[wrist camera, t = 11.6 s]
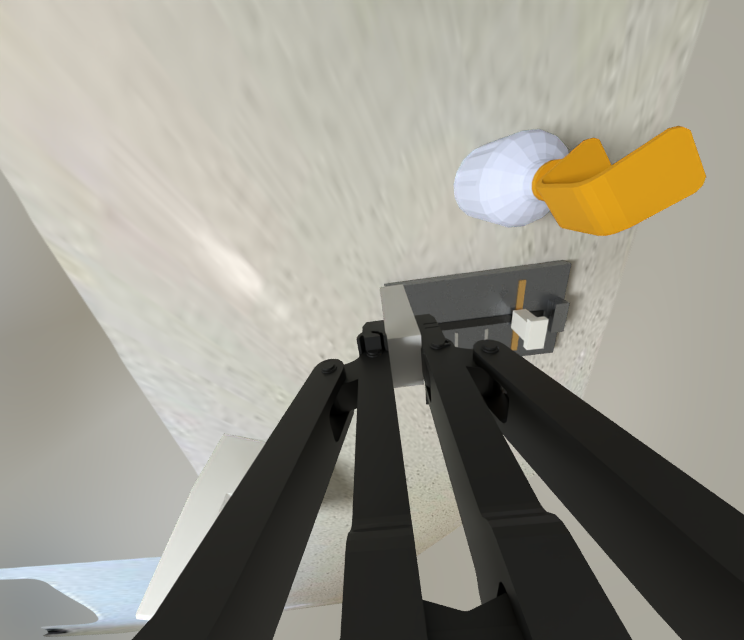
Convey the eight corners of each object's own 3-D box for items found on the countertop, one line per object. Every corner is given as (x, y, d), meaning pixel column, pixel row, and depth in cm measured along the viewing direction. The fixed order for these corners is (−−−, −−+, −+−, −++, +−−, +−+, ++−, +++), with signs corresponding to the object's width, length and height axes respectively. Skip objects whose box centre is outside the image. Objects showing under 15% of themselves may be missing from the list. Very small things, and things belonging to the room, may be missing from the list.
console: (384, 283, 43) (385, 292, 39) (562, 260, 41) (581, 267, 38) (393, 364, 50) (395, 378, 46) (546, 346, 48) (560, 359, 45)
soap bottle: (532, 183, 36) (782, 178, 14) (476, 231, 39) (615, 289, 17) (496, 126, 33) (745, 9, 11) (439, 182, 36) (550, 176, 14)
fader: (512, 306, 42) (531, 321, 37) (527, 304, 42) (548, 319, 37) (509, 332, 44) (526, 350, 39) (524, 330, 44) (543, 348, 39)
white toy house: (278, 495, 68) (235, 647, 46) (216, 484, 65) (138, 638, 43) (294, 448, 60) (251, 603, 38) (224, 432, 57) (133, 589, 35)
